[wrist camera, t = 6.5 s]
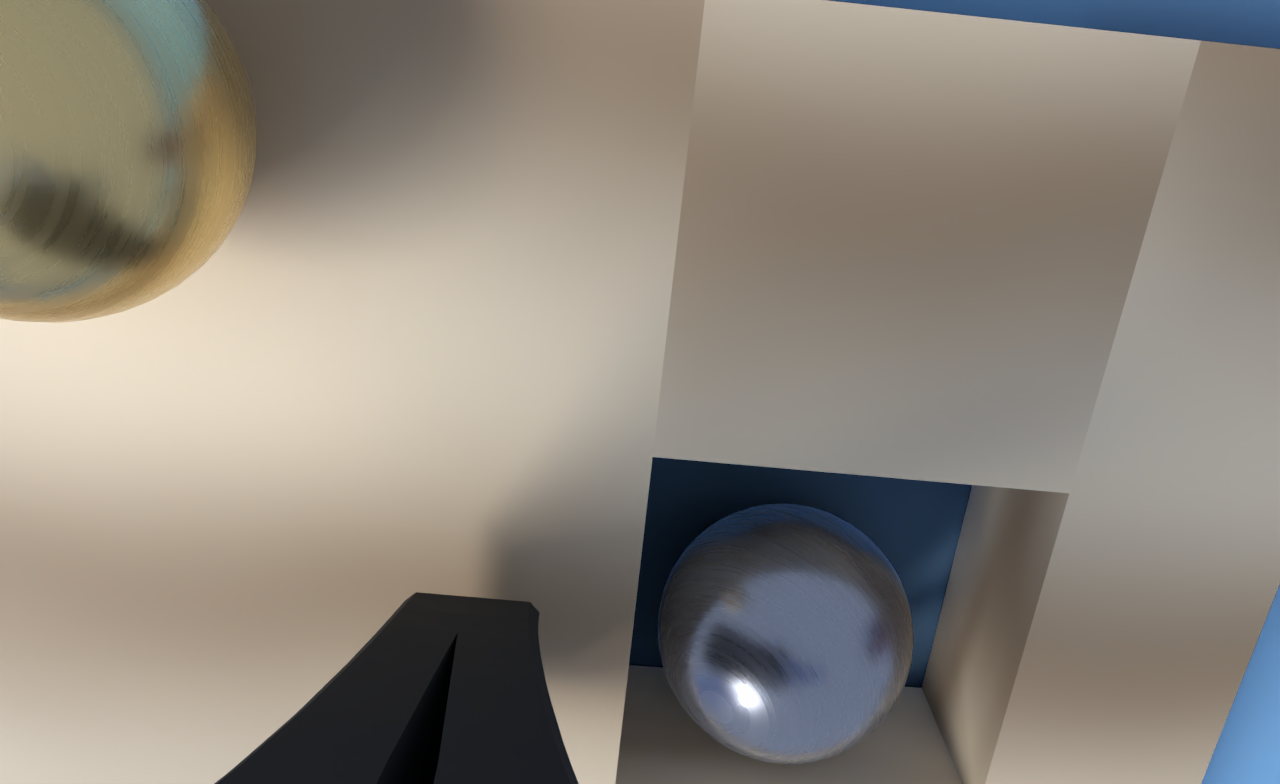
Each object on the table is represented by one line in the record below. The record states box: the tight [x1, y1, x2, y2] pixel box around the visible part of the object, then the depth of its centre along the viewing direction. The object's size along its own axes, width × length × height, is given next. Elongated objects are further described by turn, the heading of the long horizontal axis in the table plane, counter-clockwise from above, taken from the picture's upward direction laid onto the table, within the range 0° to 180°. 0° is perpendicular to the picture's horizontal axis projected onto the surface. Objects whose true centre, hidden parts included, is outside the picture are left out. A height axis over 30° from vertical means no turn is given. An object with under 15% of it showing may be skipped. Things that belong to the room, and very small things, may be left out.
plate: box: [0, 0, 1280, 784], centre depth 13 cm, size 15×17×2 cm
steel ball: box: [658, 503, 914, 764], centre depth 12 cm, size 3×3×3 cm
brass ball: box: [0, 0, 257, 323], centre depth 8 cm, size 3×3×3 cm
